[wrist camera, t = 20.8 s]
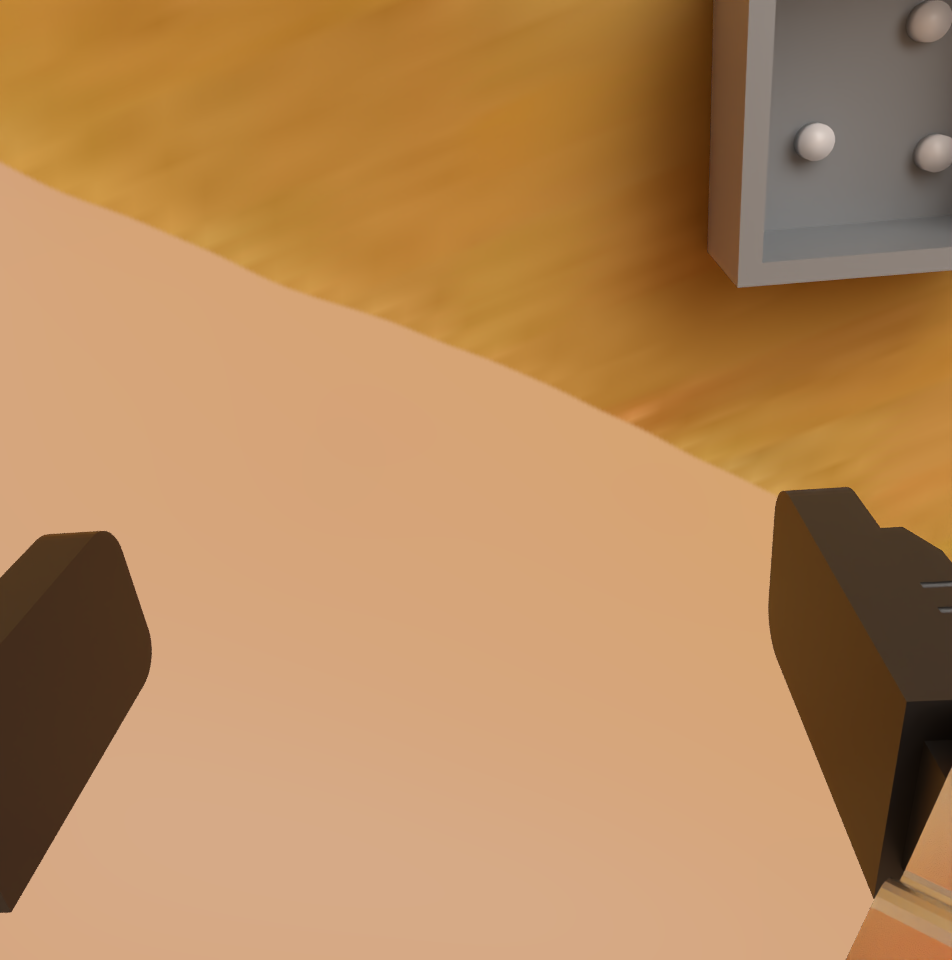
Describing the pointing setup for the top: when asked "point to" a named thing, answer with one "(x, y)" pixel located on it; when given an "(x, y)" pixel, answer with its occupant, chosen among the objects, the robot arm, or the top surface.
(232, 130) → the top surface
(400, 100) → the top surface
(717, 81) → the parts box
